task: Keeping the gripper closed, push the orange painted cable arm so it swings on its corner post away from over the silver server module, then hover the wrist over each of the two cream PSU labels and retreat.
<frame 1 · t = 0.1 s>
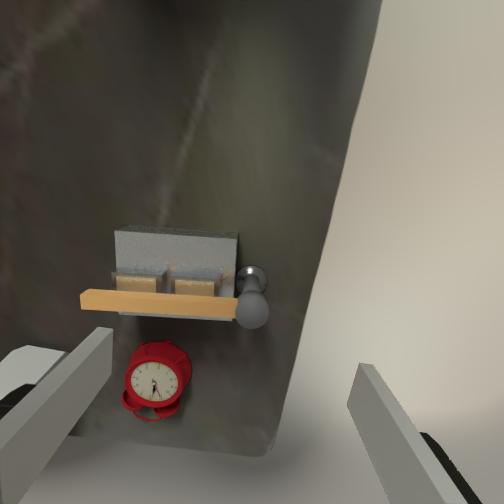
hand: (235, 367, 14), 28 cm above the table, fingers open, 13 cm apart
electronic device: (48, 374, 47), on the table
server: (184, 267, 42), on the table
cable arm: (185, 291, 37), point 6 cm above the table, hinge at 0.0°
alarm clock: (160, 374, 47), on the table
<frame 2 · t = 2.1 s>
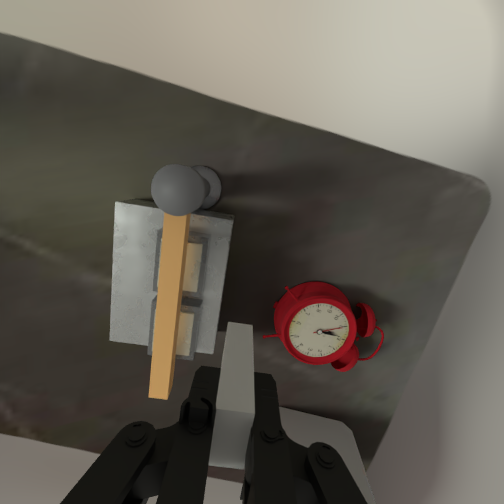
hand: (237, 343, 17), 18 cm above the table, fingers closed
electronic device: (302, 430, 42), on the table
server: (178, 269, 35), on the table
cable arm: (181, 275, 29), point 6 cm above the table, hinge at 0.0°
alarm clock: (322, 319, 37), on the table
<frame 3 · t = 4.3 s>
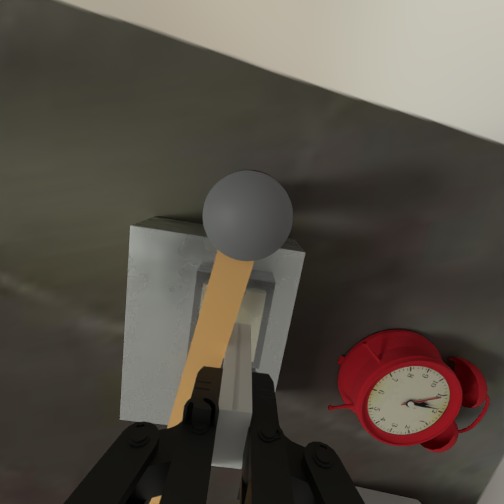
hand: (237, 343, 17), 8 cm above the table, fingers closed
server: (213, 311, 25), on the table
cable arm: (210, 330, 19), point 6 cm above the table, hinge at -7.9°, touching gripper
alarm clock: (400, 376, 28), on the table
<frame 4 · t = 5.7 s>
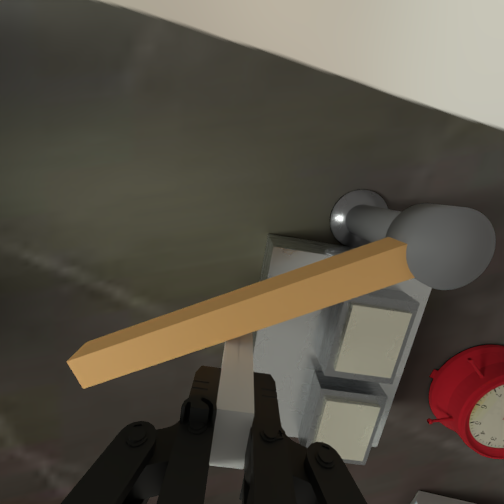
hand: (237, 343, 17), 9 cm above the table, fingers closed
server: (315, 324, 26), on the table
cable arm: (264, 275, 19), point 6 cm above the table, hinge at -60.6°
alarm clock: (488, 389, 29), on the table
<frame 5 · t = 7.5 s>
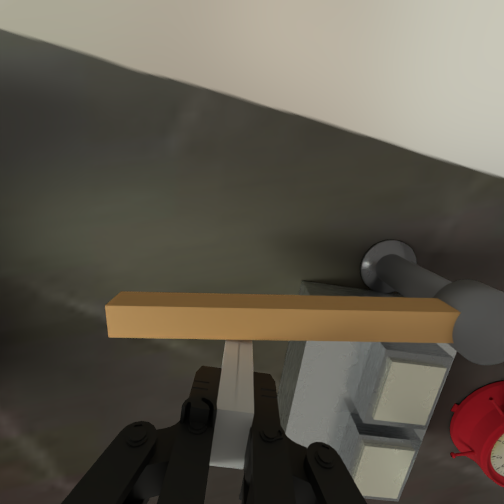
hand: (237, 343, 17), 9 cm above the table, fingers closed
server: (344, 362, 27), on the table
cable arm: (302, 288, 19), point 6 cm above the table, hinge at -83.1°, touching gripper
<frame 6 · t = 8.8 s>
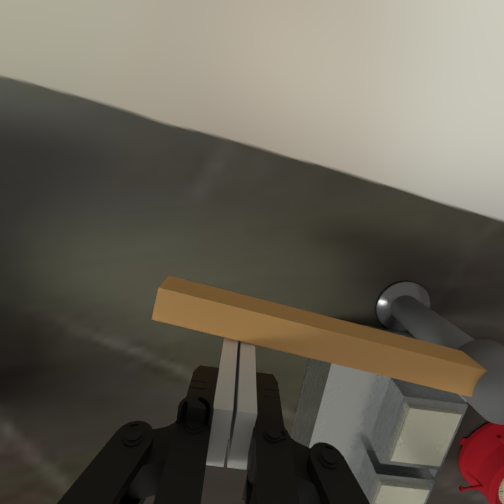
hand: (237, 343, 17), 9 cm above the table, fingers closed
server: (358, 395, 28), on the table
cable arm: (331, 311, 19), point 6 cm above the table, hinge at -96.6°, touching gripper
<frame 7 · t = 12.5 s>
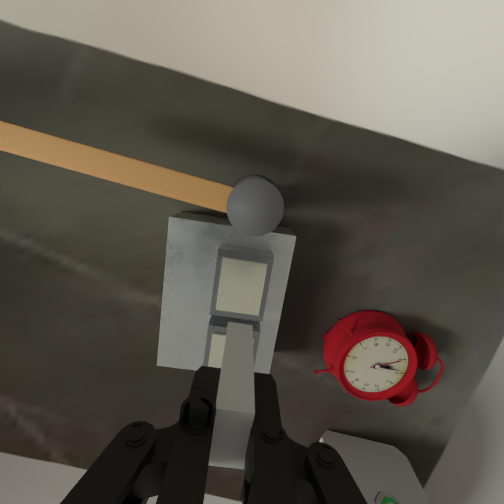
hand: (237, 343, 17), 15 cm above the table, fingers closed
electronic device: (351, 455, 39), on the table
server: (226, 286, 32), on the table
cable arm: (152, 174, 23), point 6 cm above the table, hinge at -96.8°
alarm clock: (374, 349, 35), on the table
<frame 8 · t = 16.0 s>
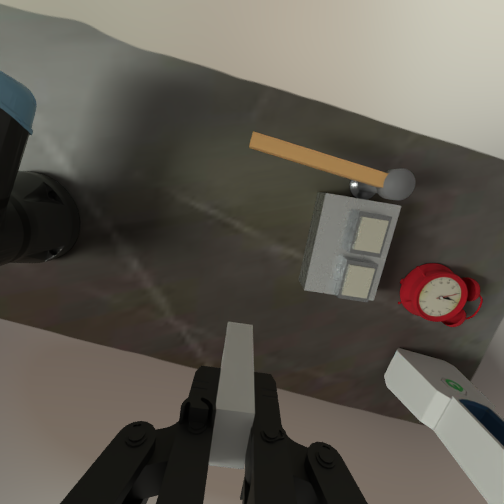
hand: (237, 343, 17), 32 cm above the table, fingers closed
electronic device: (413, 368, 55), on the table
server: (340, 242, 48), on the table
cable arm: (323, 166, 40), point 6 cm above the table, hinge at -96.8°
alarm clock: (433, 291, 51), on the table
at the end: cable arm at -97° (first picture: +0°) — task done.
